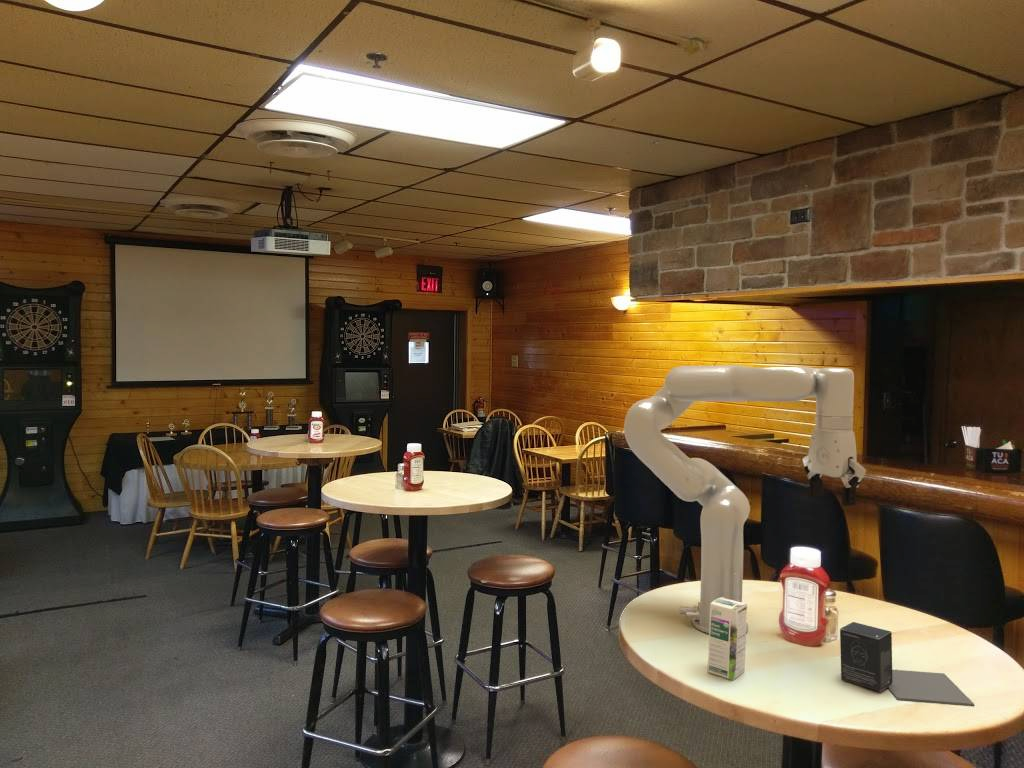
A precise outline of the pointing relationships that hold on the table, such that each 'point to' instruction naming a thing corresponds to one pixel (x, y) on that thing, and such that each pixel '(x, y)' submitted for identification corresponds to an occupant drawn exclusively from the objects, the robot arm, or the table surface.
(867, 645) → the box
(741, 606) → the syrup box
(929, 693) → the mat
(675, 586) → the table surface
